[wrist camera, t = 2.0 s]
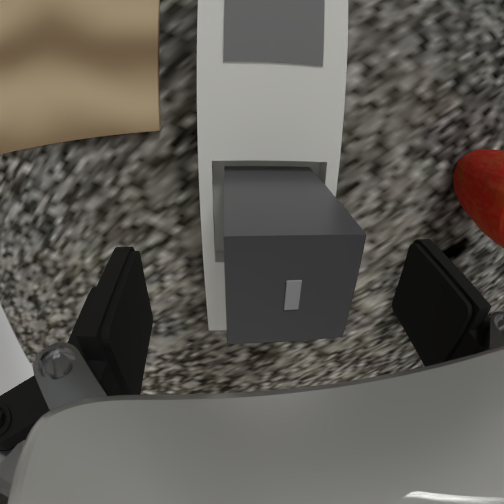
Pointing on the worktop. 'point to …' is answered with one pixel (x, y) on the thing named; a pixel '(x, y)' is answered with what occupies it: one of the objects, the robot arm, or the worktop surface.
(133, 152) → the worktop surface
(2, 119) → the coaster
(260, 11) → the power strip
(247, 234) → the block
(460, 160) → the apple
